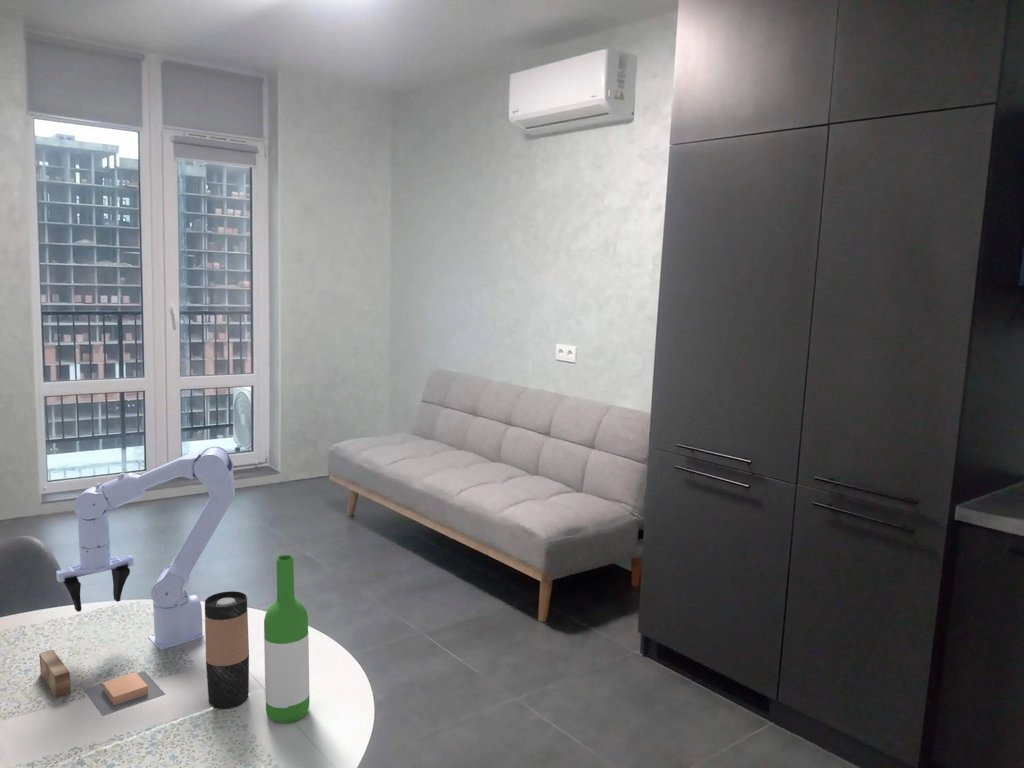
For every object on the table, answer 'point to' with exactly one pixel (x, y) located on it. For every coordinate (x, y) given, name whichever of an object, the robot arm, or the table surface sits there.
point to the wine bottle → (286, 650)
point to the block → (125, 688)
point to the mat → (108, 707)
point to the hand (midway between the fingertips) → (97, 605)
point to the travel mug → (227, 649)
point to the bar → (55, 673)
